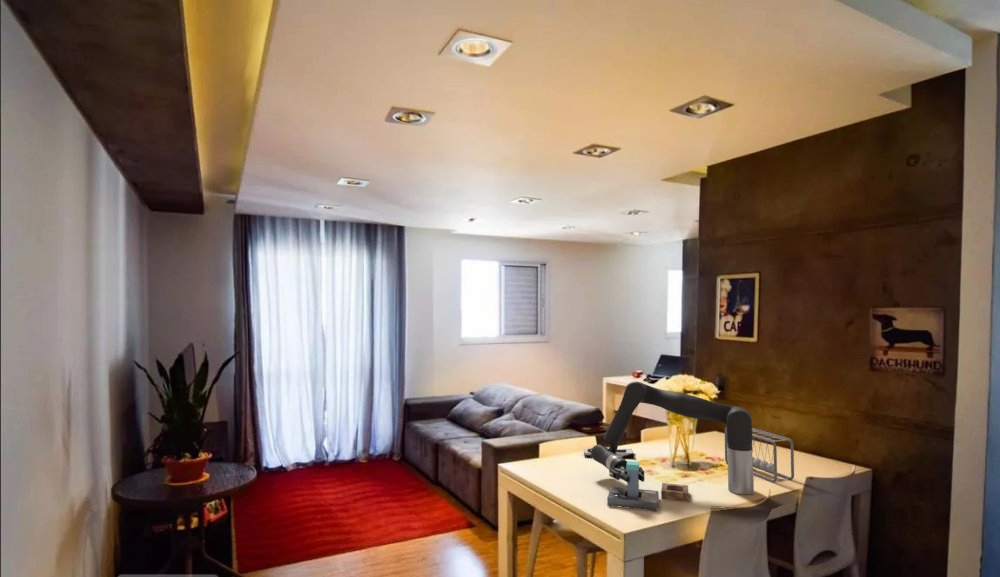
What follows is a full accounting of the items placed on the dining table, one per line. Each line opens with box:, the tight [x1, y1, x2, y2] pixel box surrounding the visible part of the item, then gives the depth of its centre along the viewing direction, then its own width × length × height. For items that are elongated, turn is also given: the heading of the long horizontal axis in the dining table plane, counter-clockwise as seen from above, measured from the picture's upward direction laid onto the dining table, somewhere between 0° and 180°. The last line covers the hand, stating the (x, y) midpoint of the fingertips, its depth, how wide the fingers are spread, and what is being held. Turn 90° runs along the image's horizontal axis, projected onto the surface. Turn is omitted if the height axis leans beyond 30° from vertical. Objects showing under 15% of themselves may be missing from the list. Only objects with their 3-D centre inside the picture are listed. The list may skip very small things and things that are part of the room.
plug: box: [626, 460, 640, 498], centre depth 206 cm, size 4×4×14 cm
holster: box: [660, 482, 689, 503], centre depth 212 cm, size 10×10×3 cm
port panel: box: [606, 485, 660, 512], centre depth 206 cm, size 18×13×3 cm
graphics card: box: [583, 447, 637, 460], centre depth 269 cm, size 10×3×25 cm
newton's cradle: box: [724, 426, 795, 483], centre depth 242 cm, size 30×10×18 cm, turn 19°
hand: (635, 479), depth 204 cm, fingers closed on plug, 5 cm apart
